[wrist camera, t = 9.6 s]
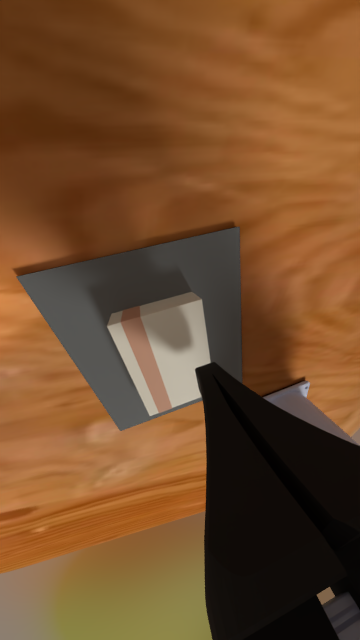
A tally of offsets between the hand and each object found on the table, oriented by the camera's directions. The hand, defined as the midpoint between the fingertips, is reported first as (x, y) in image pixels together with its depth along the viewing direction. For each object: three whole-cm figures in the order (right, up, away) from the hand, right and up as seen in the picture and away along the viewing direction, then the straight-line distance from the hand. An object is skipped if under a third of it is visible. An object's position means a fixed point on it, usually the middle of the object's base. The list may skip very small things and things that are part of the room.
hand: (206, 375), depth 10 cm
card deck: (0, +1, +3) cm, 3 cm away
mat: (-3, +1, +4) cm, 5 cm away
